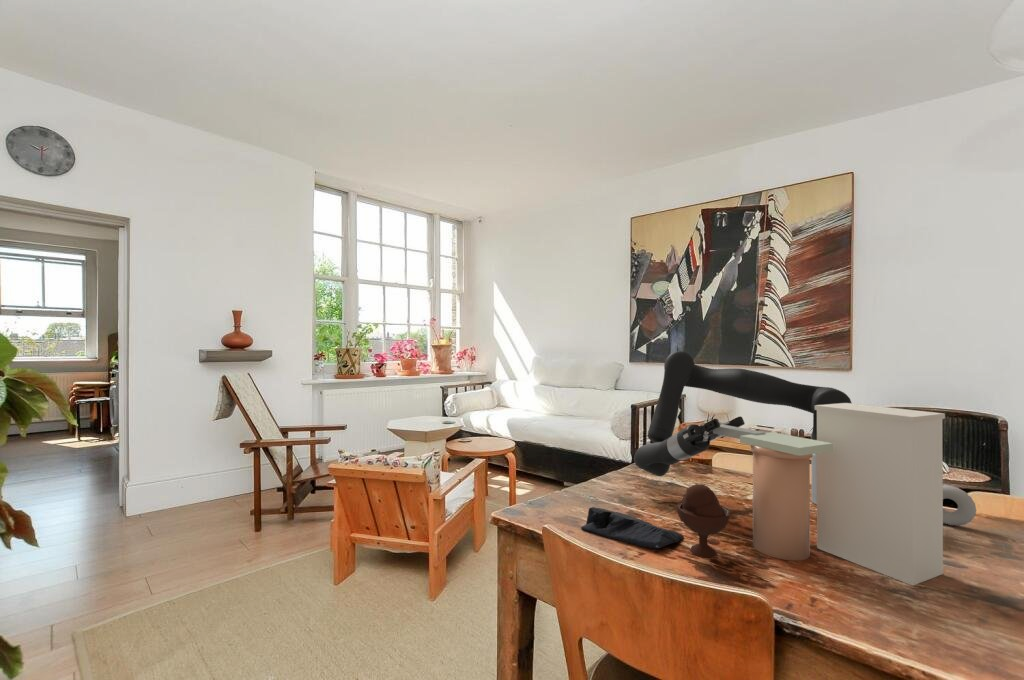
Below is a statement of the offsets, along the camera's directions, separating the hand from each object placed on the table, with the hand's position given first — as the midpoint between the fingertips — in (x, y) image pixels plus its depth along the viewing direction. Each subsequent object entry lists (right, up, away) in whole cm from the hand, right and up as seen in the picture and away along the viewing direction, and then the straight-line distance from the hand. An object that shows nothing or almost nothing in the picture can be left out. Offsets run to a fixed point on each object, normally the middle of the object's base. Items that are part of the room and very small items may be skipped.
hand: (730, 421), depth 117 cm
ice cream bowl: (-12, -27, -14) cm, 33 cm away
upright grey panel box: (+23, -26, -18) cm, 39 cm away
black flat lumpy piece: (-26, -27, -3) cm, 37 cm away
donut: (+57, -27, +3) cm, 63 cm away
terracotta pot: (+6, -26, -12) cm, 30 cm away
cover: (+4, -3, -8) cm, 9 cm away
